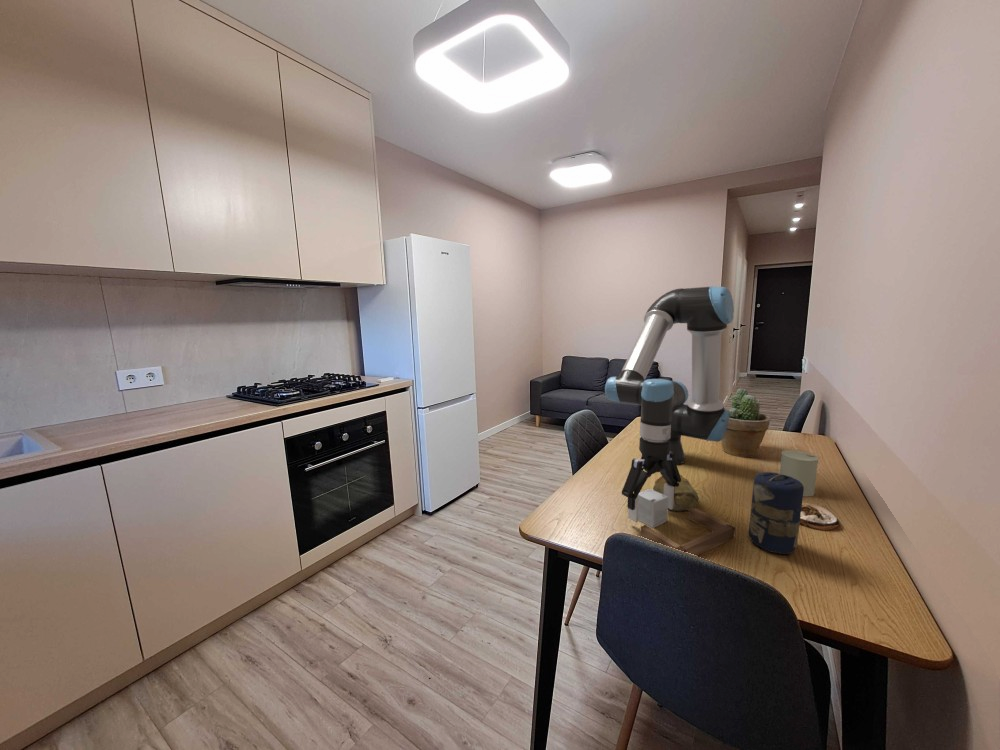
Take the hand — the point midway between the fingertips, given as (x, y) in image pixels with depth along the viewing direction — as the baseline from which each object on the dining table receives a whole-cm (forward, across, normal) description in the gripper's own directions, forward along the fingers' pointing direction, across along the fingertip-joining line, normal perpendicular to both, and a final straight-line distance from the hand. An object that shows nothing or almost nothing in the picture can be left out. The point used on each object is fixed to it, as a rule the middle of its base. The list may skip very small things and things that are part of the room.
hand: (650, 513), depth 103 cm
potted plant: (+2, +72, +18) cm, 74 cm away
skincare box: (+2, 0, 0) cm, 2 cm away
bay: (+2, +1, -10) cm, 10 cm away
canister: (+2, +16, -22) cm, 27 cm away
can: (+2, +54, -10) cm, 55 cm away
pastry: (+2, +15, +4) cm, 16 cm away
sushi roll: (+3, +38, -20) cm, 43 cm away
